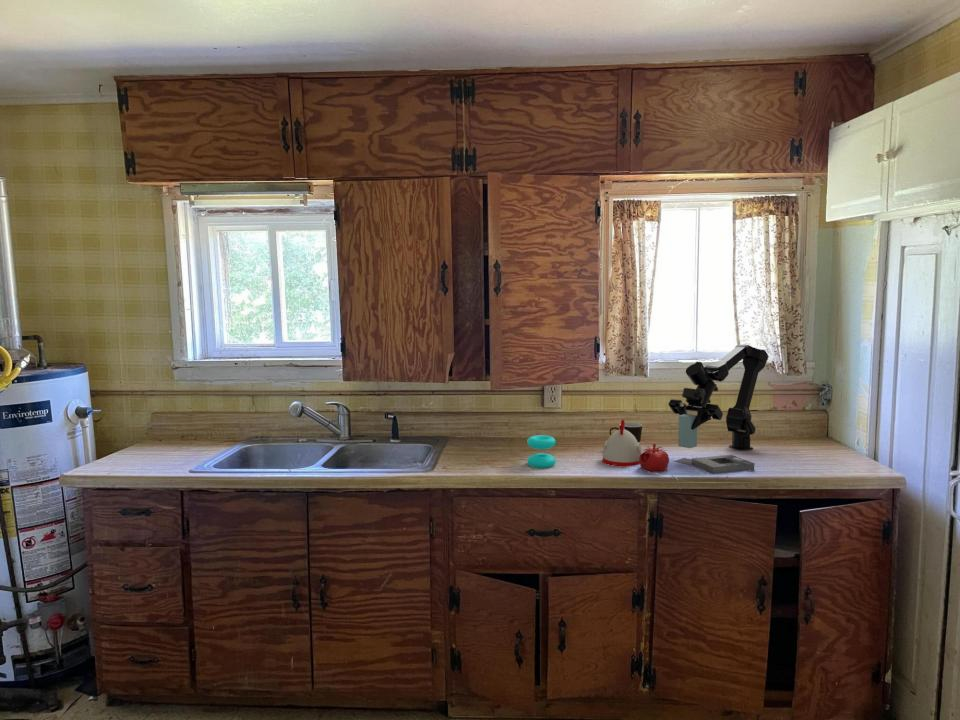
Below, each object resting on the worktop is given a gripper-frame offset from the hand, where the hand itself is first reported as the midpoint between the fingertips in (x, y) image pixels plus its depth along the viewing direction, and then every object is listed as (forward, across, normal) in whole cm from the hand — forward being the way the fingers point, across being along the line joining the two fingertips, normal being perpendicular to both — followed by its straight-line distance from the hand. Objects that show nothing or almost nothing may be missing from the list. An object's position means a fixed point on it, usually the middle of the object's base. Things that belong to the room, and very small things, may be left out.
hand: (685, 428), depth 219 cm
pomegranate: (+20, -3, -2) cm, 20 cm away
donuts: (+36, -33, -18) cm, 52 cm away
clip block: (+4, 0, +6) cm, 7 cm away
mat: (+8, 0, +10) cm, 13 cm away
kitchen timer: (+19, -17, -1) cm, 25 cm away
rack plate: (+6, +12, +11) cm, 18 cm away
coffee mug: (+8, -26, +10) cm, 29 cm away
